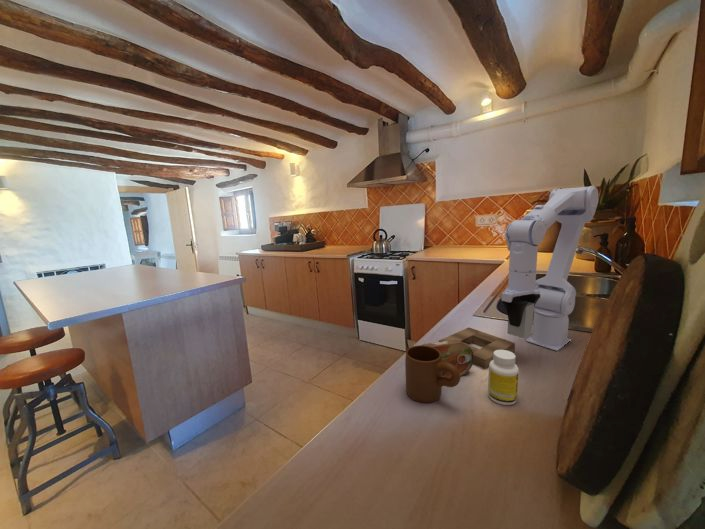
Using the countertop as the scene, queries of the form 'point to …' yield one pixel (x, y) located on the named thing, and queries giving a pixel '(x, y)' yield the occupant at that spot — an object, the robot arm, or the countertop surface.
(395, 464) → the countertop surface
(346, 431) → the countertop surface
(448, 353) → the tin
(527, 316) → the peg
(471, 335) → the collar
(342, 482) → the countertop surface
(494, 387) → the supplement bottle
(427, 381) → the mug
